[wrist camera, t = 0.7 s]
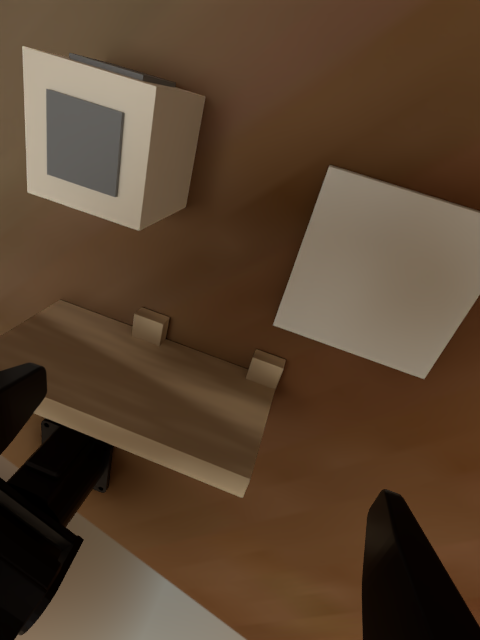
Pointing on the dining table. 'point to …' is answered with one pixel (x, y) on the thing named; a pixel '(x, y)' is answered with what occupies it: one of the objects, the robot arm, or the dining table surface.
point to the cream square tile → (383, 272)
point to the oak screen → (148, 391)
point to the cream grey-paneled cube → (108, 138)
